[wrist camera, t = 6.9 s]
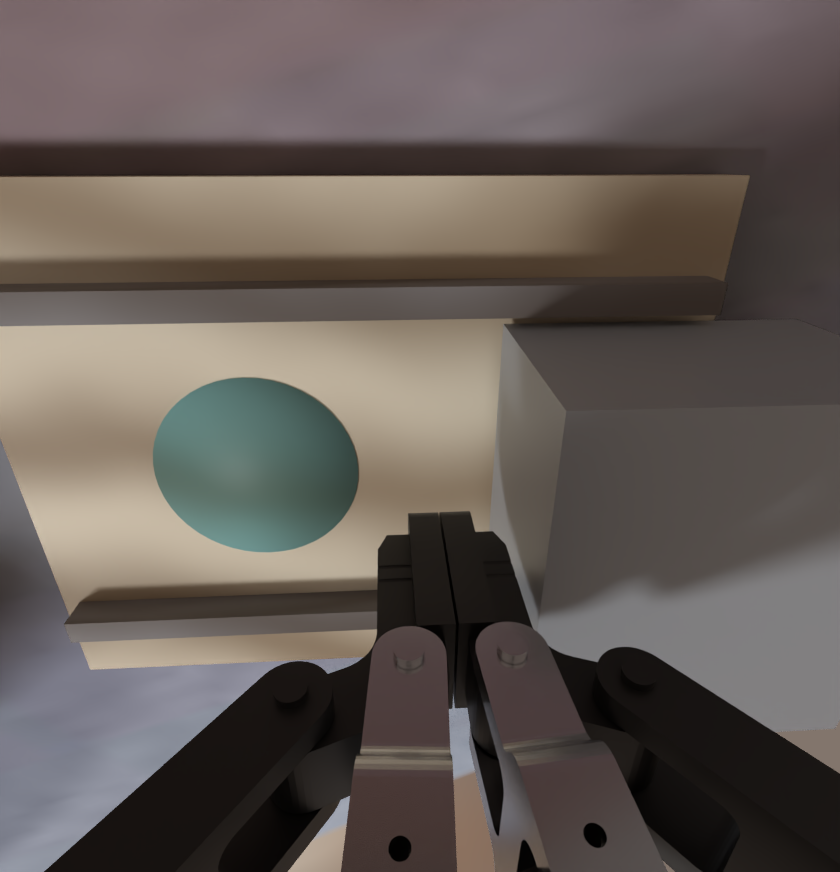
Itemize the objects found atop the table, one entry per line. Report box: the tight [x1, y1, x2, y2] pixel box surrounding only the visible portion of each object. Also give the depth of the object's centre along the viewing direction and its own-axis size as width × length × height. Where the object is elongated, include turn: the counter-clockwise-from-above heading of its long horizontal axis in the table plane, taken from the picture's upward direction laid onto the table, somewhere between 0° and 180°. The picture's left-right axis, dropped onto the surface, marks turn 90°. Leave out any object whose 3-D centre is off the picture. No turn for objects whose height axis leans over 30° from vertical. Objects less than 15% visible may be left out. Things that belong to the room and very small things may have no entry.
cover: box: [489, 319, 840, 732], centre depth 14 cm, size 9×8×6 cm
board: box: [0, 174, 750, 670], centre depth 17 cm, size 16×20×2 cm
